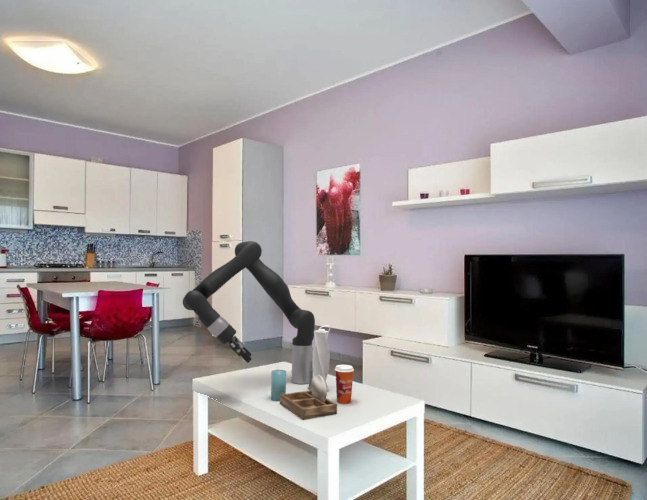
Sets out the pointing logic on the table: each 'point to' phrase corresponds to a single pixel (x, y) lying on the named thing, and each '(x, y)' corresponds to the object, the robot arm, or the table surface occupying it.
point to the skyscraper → (320, 355)
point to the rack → (310, 401)
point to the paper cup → (344, 383)
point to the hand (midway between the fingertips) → (249, 358)
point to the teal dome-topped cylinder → (278, 384)
